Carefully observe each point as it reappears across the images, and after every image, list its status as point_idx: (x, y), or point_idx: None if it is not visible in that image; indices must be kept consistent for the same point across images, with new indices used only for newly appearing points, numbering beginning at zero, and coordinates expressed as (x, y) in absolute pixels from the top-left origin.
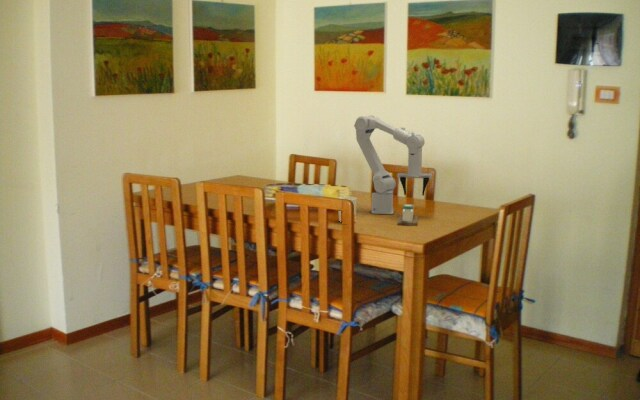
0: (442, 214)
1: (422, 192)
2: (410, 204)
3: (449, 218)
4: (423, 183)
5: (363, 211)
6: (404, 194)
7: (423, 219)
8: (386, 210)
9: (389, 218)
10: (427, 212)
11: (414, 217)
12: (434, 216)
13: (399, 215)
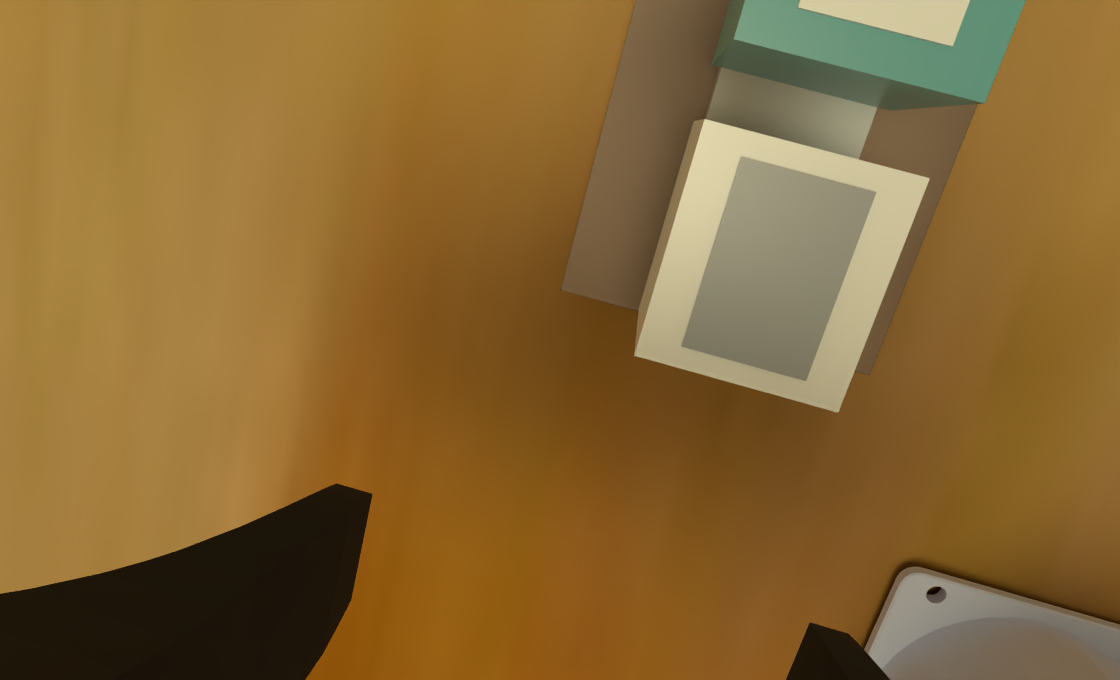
0: (166, 474)
1: (337, 514)
2: (710, 349)
3: (98, 188)
4: (123, 649)
5: None
6: (852, 638)
7: (505, 148)
8: (1022, 641)
9: (1065, 285)
10: (349, 626)
11: (664, 126)
12: (296, 356)
13: (884, 325)
